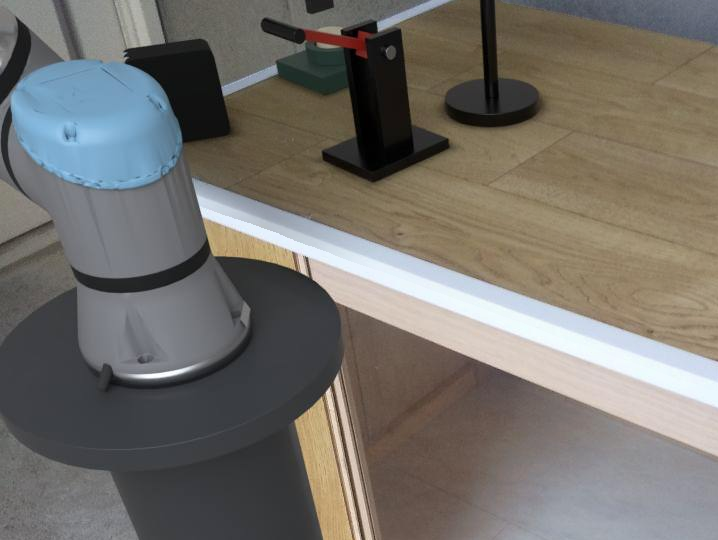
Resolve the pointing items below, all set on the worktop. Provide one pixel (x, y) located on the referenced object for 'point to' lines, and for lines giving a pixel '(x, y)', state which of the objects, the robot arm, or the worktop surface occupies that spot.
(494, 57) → the desk lamp
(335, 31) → the timer button
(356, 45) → the switch lever
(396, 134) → the stand
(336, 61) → the timer box
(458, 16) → the worktop surface
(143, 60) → the electronic device
